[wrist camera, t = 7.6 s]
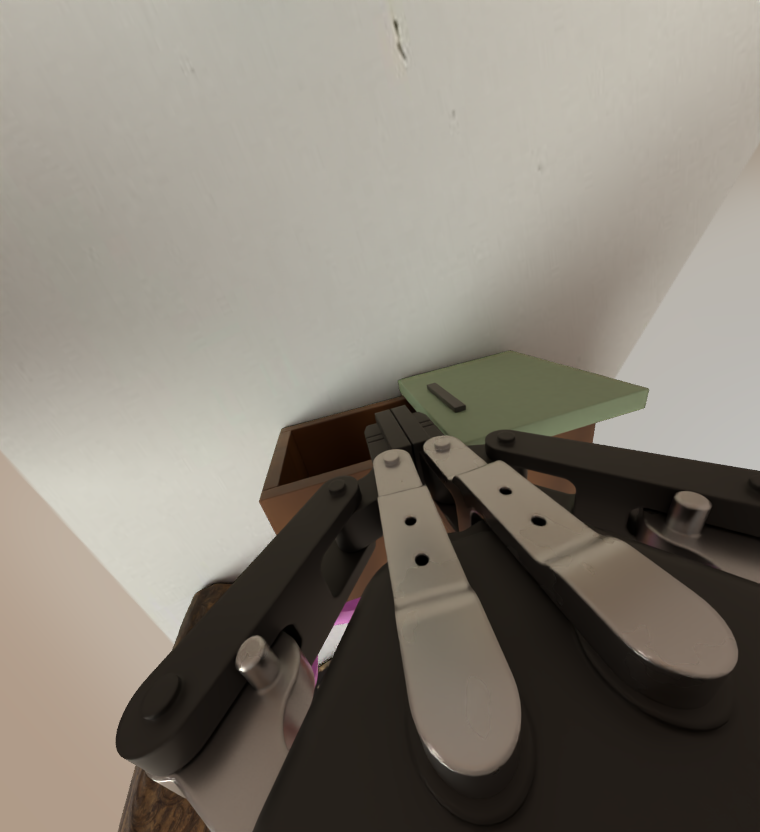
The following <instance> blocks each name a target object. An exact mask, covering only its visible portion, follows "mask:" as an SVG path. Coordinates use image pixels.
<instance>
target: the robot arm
mask: <svg viewBox="0 0 760 832" xmlns="http://www.w3.org/2000/svg"><path fill="white" fill-rule="evenodd" d="M375 419H376V424H372V425H368V426H367V427H366V429H365V431H364V434H365V438H366V441H367V445H368V449H369V453H370V456H371V460H372V463H373V468H372V470H371V471H370V472H369V473H368V474H367V475H366V476H364V477H363V478H361V479H359V480H356V479H355V478H354V477H352V476H347V475H344V476H338V477H334V478H332V479H330V480H328V481H327V482H325V483H324V484H323V485H322V486H321V487H320V488H319V489H318V490H317V492H316V493H315V494H314V495H313V496H312V497H311V498H310V499H309V500H308V501H307V503H306V504H305V505H304V506H303V507H302V508H301V509H300V510H299V511H298V512H297V514H296V515H295V516H294V517H293V518H292V519H291V520H290V521H289V522H288V523H287V525H286V526H285V527H284V528H283V529H282V530H281V531H280V532H279V533H278V534H277V536H276V537H275V538H274V539H273V540H272V541H271V542H270V543H269V544H268V545H267V547H266V548H265V549H264V550H263V551H262V552H261V553H260V554H259V555H258V556H257V558H256V559H255V560H254V561H253V562H252V563H251V564H250V565H249V566H248V567H247V569H246V570H245V571H244V572H243V573H242V574H241V575H240V576H239V577H238V579H237V580H236V581H235V582H234V583H233V584H232V585H231V586H230V587H229V588H228V590H227V591H226V592H225V593H224V594H223V595H222V596H221V597H220V598H219V599H218V601H217V602H216V603H215V604H214V605H213V606H212V607H211V608H210V609H209V610H208V612H207V613H206V614H205V615H204V616H203V617H202V618H201V619H200V620H199V621H198V623H197V624H196V625H195V626H194V627H193V628H192V629H191V630H190V631H189V632H188V634H187V635H186V636H185V637H184V638H183V639H182V640H181V641H180V642H179V643H178V645H177V646H176V647H175V648H174V649H173V650H172V651H171V652H170V654H169V655H168V656H167V657H166V658H165V659H164V660H163V661H162V662H161V663H160V664H159V666H158V667H157V668H156V669H155V670H154V671H153V672H152V673H151V674H150V675H149V677H148V678H147V679H146V680H145V681H144V682H143V684H142V685H141V686H140V687H139V688H138V690H137V691H136V693H135V694H134V695H133V697H132V698H131V700H130V702H129V703H128V705H127V707H126V709H125V711H124V713H123V715H122V717H121V720H120V722H119V726H118V729H117V734H116V748H117V751H118V753H119V755H120V756H121V757H123V758H124V759H126V760H128V761H130V762H131V763H133V764H135V765H136V766H138V767H140V768H141V769H143V770H145V772H146V774H147V776H148V777H149V778H151V779H152V780H154V781H156V782H157V783H159V784H161V785H163V786H164V787H166V788H168V789H170V790H171V791H173V792H175V793H177V794H178V795H180V796H182V797H184V798H186V799H187V800H188V801H189V803H190V804H191V805H192V807H193V808H194V809H195V811H196V812H197V813H198V815H199V816H200V817H201V819H202V820H203V821H204V823H205V824H206V826H207V827H208V828H209V830H210V831H211V832H760V471H757V470H750V469H745V468H738V467H733V466H727V465H721V464H714V463H709V462H702V461H697V460H690V459H684V458H678V457H672V456H666V455H660V454H654V453H648V452H642V451H636V450H630V449H624V448H618V447H612V446H606V445H599V444H594V443H588V442H582V441H576V440H570V439H564V438H558V437H552V436H546V435H539V434H533V433H527V432H521V431H515V430H506V429H505V430H497V431H493V432H491V433H489V434H488V435H487V436H486V437H485V444H481V445H465V444H464V443H462V442H461V441H460V440H459V439H457V438H456V437H453V436H446V435H444V434H443V433H442V432H441V430H440V429H439V428H438V427H437V426H436V425H434V423H433V422H432V420H431V419H430V418H429V417H428V416H427V415H426V414H423V413H421V412H415V413H411V412H410V411H409V409H408V408H407V407H406V406H405V405H403V406H399V407H396V408H392V409H390V410H385V411H381V412H378V413H375ZM528 470H532V471H536V472H540V473H544V474H548V475H552V476H556V477H560V478H564V479H566V480H568V481H570V482H571V483H572V484H573V485H574V486H575V488H576V493H575V494H568V493H564V492H560V491H557V490H553V489H549V488H546V487H542V486H538V485H535V484H532V483H531V482H530V481H528V480H527V476H528ZM429 492H430V493H429ZM430 494H431V495H430ZM440 517H441V518H440ZM441 519H442V520H443V522H444V523H445V525H446V526H447V528H448V529H449V531H450V532H451V533H447V532H446V530H445V527H444V525H443V523H442V520H441ZM382 536H384V542H385V548H386V554H387V560H388V562H387V563H386V564H384V565H383V566H382V567H381V568H380V569H379V570H378V571H377V572H376V573H375V575H374V576H373V577H372V578H371V580H370V581H369V583H368V585H367V586H366V588H365V590H364V591H363V593H362V595H361V598H360V600H359V602H358V604H357V606H356V608H355V611H354V613H353V615H352V617H351V619H350V621H349V623H348V626H347V628H346V630H345V632H344V634H343V636H342V638H341V641H340V643H339V645H338V647H337V649H336V651H335V654H334V656H333V658H332V660H331V662H330V664H329V666H328V669H327V671H326V673H325V675H324V677H323V679H322V681H321V684H320V686H319V688H318V690H317V692H316V694H315V696H314V699H313V695H314V689H315V678H314V673H313V669H312V667H311V666H312V665H313V663H314V661H315V659H316V657H317V655H318V653H319V652H320V650H321V648H322V646H323V644H324V642H325V640H326V639H327V637H328V635H329V633H330V631H331V629H332V627H333V626H334V624H335V622H336V620H337V618H338V616H339V615H340V613H341V611H342V609H343V607H344V605H345V603H346V602H347V600H348V598H349V596H350V594H351V592H352V590H353V589H354V587H355V585H356V583H357V581H358V579H359V577H360V576H361V574H362V572H363V570H364V568H365V566H366V564H367V563H368V561H369V559H370V557H371V555H372V553H373V551H374V549H375V546H376V540H377V539H379V538H380V537H382ZM312 699H313V701H312ZM311 702H312V703H311Z"/></svg>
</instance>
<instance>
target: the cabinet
mask: <svg viewBox="0 0 760 832" xmlns="http://www.w3.org/2000/svg"><path fill="white" fill-rule="evenodd" d="M403 405H405V406H406V407H407V408H408V409H409V411H410V412H411V413H415V412H416V410H415V409H414V408H413V407H412V406H411V404H410V403H409V402H408V401H407V400H406V398H405V397H404V396H400V397H396V398H393V399H389V400H385V401H382V402H378V403H374V404H371V405H367V406H363V407H360V408H356V409H352V410H348V411H345V412H341V413H337V414H334V415H330V416H326V417H323V418H319V419H315V420H312V421H308V422H304V423H301V424H297V425H293V426H290V427H286V428H282V429H281V432H280V435H279V438H278V441H277V444H276V448H275V451H274V454H273V457H272V461H271V464H270V467H269V470H268V473H267V477H266V480H265V483H264V486H263V490H262V493H261V497H260V500H259V503H260V505H261V507H262V508H263V510H264V512H265V514H266V516H267V518H268V520H269V522H270V524H271V526H272V528H273V530H274V531H275V533H276V535H277V534H278V533H279V532H280V531H281V530H282V529H283V528H284V527H285V526H286V525H287V523H288V522H289V521H290V520H291V519H292V518H293V517H294V516H295V515H296V514H297V512H298V511H299V510H300V509H301V508H302V507H303V506H304V505H305V504H306V503H307V501H308V500H309V499H310V498H311V497H312V496H313V495H314V494H315V493H316V492H317V490H318V489H319V488H320V487H321V486H322V485H323V484H324V483H325V482H327V481H328V480H330V479H332V478H334V477H338V476H344V475H347V476H352V477H354V478H355V479H356V480H359V479H361V478H363V477H364V476H366V475H367V474H368V473H369V472H370V471H371V470H372V468H373V463H372V460H371V456H370V453H369V449H368V445H367V441H366V438H365V434H364V431H365V429H366V427H367V426H368V425H372V424H376V419H375V413H378V412H381V411H385V410H390V409H392V408H396V407H399V406H403ZM594 430H595V423H594V424H590V425H587V426H584V427H580V428H577V429H574V430H570V431H567V432H564V433H560V434H557V435H554V436H552V437H558V438H564V439H570V440H576V441H582V442H588V443H593V436H594ZM527 480H528V481H530V482H531V483H532V484H535V485H538V486H542V487H546V488H549V489H553V490H557V491H560V492H564V493H568V494H575V493H576V488H575V486H574V485H573V484H572V483H571V482H570V481H568V480H566V479H564V478H560V477H556V476H552V475H548V474H544V473H540V472H536V471H532V470H528V476H527ZM429 493H430V492H429ZM430 495H431V494H430ZM440 518H441V517H440ZM441 520H442V519H441ZM442 523H443V525H444V527H445V530H446V532H447V533H451V532H450V531H449V529H448V528H447V526H446V525H445V523H444V522H443V520H442ZM387 562H388V560H387V554H386V548H385V542H384V536H382V537H380V538H379V539H377V540H376V546H375V549H374V551H373V553H372V555H371V557H370V559H369V561H368V563H367V564H366V566H365V568H364V570H363V572H362V574H361V576H360V577H359V579H358V581H357V583H356V585H355V587H354V589H353V590H352V592H351V594H350V596H349V598H348V600H347V602H348V601H351V600H354V599H357V598H360V597H361V595H362V593H363V591H364V590H365V588H366V586H367V585H368V583H369V581H370V580H371V578H372V577H373V576H374V575H375V573H376V572H377V571H378V570H379V569H380V568H381V567H382V566H383V565H384V564H386V563H387Z"/></svg>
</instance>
